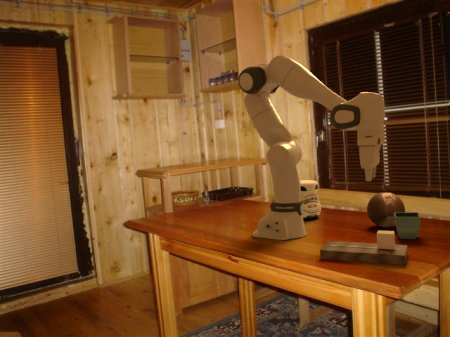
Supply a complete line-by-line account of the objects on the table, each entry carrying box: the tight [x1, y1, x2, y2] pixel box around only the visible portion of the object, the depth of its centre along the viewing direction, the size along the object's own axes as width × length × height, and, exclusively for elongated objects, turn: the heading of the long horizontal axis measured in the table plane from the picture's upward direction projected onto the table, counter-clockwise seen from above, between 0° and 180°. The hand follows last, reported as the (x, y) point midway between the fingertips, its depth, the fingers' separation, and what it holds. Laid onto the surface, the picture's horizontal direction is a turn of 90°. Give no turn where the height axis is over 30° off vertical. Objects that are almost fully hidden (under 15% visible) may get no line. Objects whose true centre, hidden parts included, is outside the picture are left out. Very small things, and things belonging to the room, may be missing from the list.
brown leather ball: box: [366, 191, 406, 229], centre depth 173 cm, size 15×15×15 cm
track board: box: [319, 240, 409, 266], centre depth 136 cm, size 26×12×3 cm, turn 63°
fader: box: [376, 230, 396, 250], centre depth 132 cm, size 5×4×5 cm
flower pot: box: [394, 211, 421, 240], centre depth 155 cm, size 9×9×9 cm
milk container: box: [299, 179, 322, 220], centre depth 203 cm, size 17×17×18 cm
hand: (370, 179), depth 142 cm, fingers open, 8 cm apart
